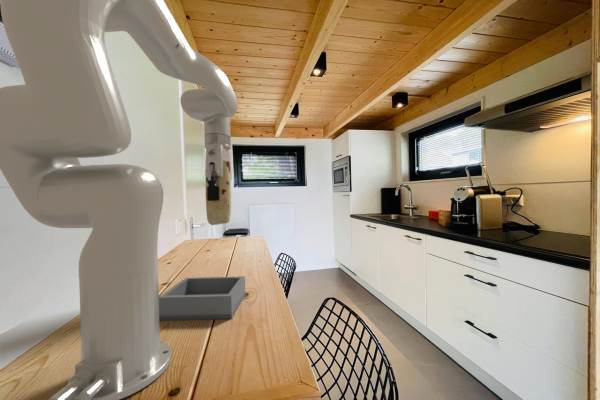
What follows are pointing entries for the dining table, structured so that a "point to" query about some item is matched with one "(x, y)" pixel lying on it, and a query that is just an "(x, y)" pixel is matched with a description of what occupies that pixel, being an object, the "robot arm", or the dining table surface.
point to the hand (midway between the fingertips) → (218, 200)
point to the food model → (220, 198)
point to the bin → (202, 298)
